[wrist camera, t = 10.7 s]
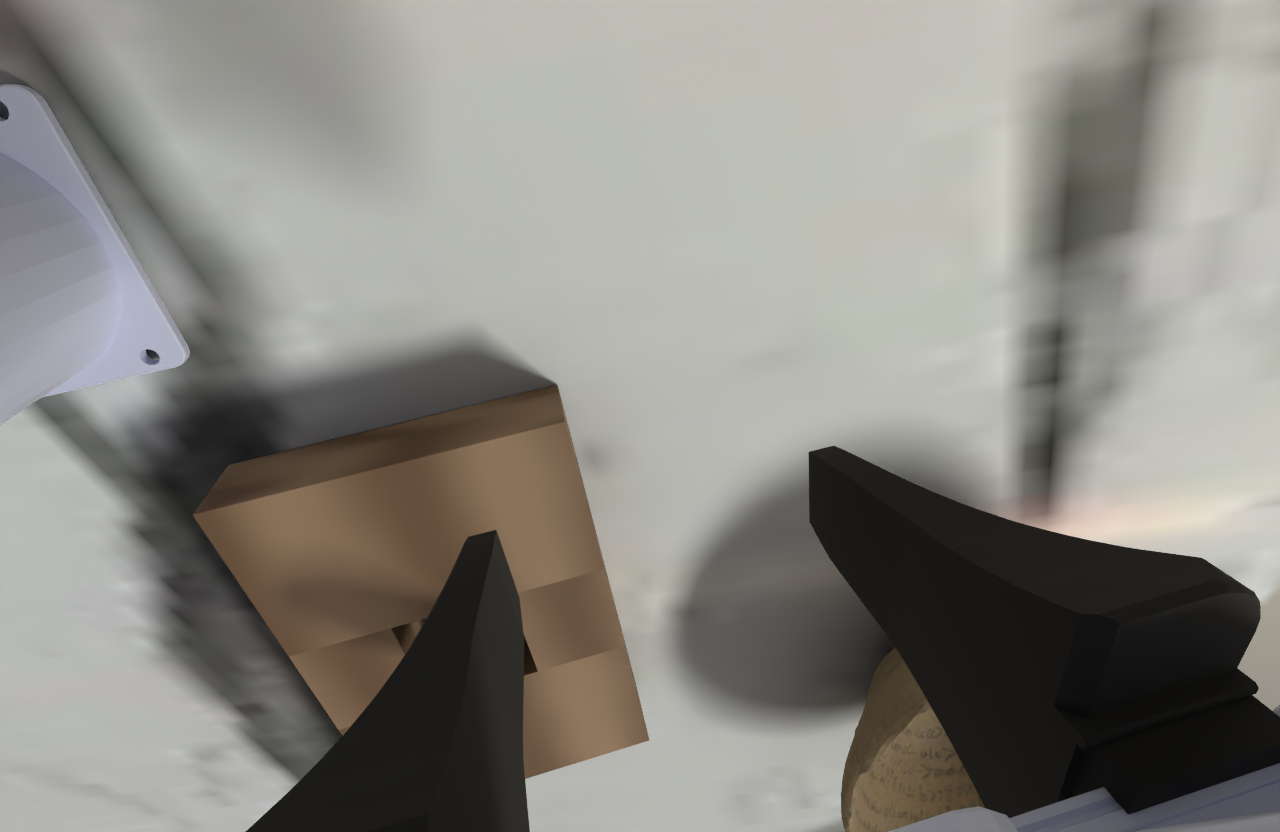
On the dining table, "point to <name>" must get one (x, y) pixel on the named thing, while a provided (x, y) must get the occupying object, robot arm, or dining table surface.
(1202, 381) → the dining table surface
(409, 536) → the hole plate
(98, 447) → the dining table surface
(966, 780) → the bowl
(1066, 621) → the robot arm
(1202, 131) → the dining table surface
